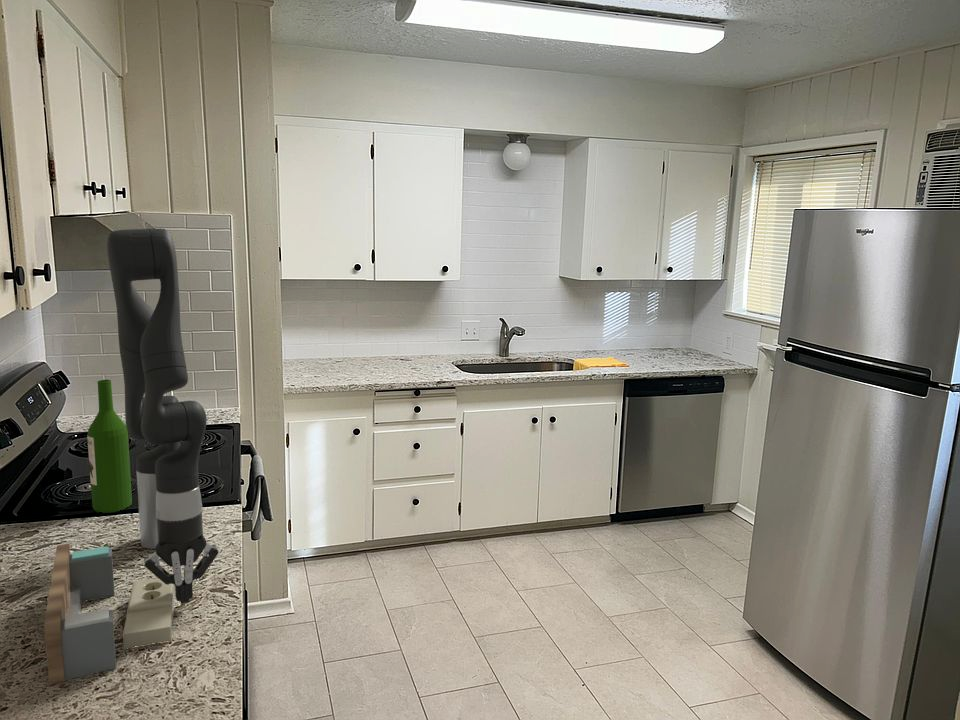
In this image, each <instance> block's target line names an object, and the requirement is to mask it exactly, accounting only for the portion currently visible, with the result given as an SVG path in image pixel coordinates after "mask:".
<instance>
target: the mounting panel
mask: <svg viewBox="0 0 960 720" xmlns="http://www.w3.org/2000/svg"><path fill="white" fill-rule="evenodd" d="M70 554H71V547H70V543H64V544H57V545H56V550H55V556H54V561H53V567H52V575H51V581H50V586H49V593H48V599H47V603H46V604H47V605H46V611H45V617H44V623H43V628H44V629H43V630H44V639H45V649H46V662H47V671H48V673H47V674H48V685H49V686H52V685H56V684H60V683H61V684H62V683H66V682H65V681H66V680H65V677H64V665H63V652H62V640H61V626H62V619H65V617H66V616H68V607H69V598H70V588H71V583H70V570H69V558H70Z"/></svg>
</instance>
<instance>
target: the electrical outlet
mask: <svg viewBox="0 0 960 720" xmlns="http://www.w3.org/2000/svg"><path fill="white" fill-rule="evenodd" d="M174 598H175V599H176V595H175V585H174V584H168V585H167V584H165V583H164V582H162V581H161V580H160V579H159V578H158V577H156V578H149V579H141V580H135V581H133V582H132V586H131V590H130V595H129V600H128V605H127V611H126V612H127V614H126V618H125V622H124V627H123V632H122V640H123V642H122V643H123V650H128V649H127V648H130V649H134V648H133V647H135V646H141V645H147V644H152V643H158V642H164V641H171V642H172V636H171V634H172V635H173V633H172V632H173V624H172V622H173V621H174V613H173V611H174V610H175V601H174Z"/></svg>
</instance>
